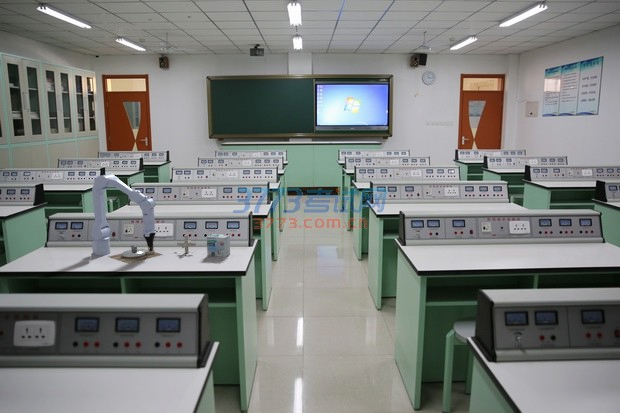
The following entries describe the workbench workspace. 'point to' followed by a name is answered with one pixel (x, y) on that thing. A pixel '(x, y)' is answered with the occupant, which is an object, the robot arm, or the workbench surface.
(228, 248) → the light bulb box
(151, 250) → the crank
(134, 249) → the post
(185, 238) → the pipe connector
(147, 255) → the base board
